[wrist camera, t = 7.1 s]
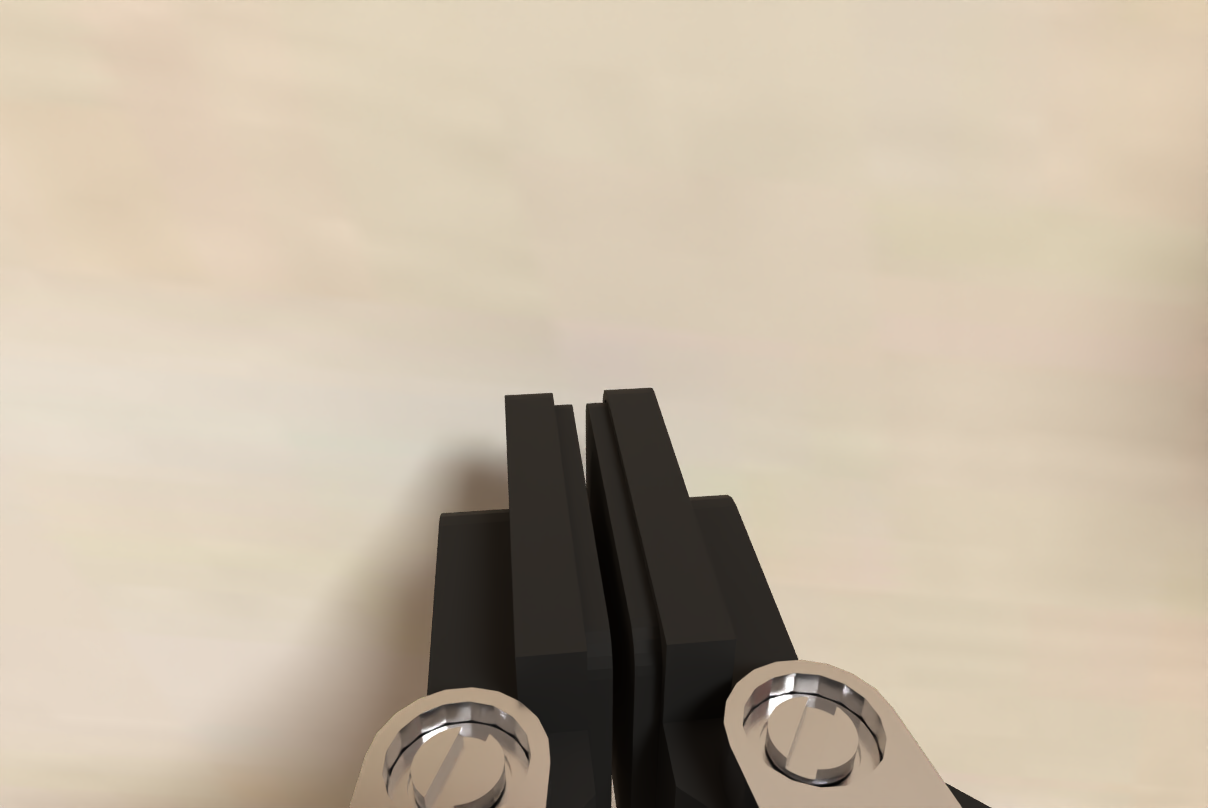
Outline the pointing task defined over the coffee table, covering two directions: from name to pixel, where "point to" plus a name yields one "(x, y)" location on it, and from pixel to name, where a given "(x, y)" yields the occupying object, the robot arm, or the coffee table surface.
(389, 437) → the coffee table surface
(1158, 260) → the coffee table surface
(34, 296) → the coffee table surface
